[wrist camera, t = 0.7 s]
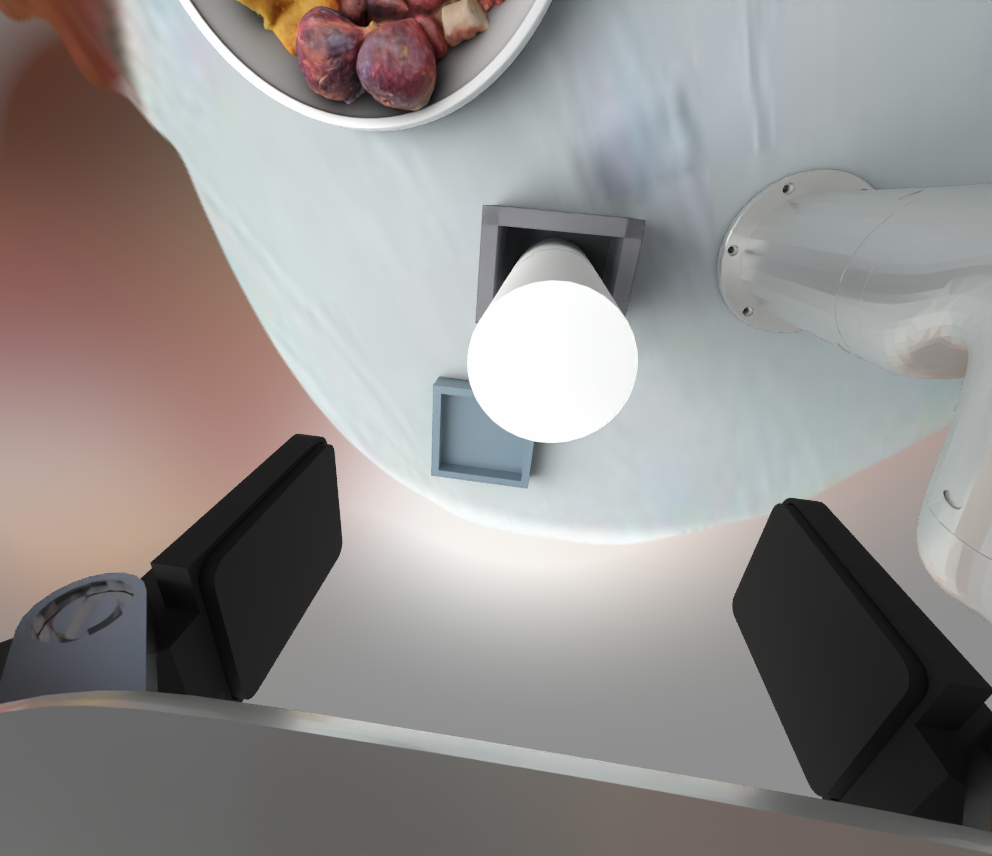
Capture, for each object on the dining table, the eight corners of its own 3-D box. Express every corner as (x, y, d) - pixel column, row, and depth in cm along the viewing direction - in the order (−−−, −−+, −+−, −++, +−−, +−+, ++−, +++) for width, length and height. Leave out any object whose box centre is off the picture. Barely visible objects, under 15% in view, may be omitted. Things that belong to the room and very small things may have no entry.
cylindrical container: (498, 269, 41) (433, 345, 19) (565, 220, 39) (580, 241, 17) (540, 333, 44) (527, 468, 21) (606, 290, 41) (669, 391, 19)
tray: (540, 389, 46) (540, 398, 44) (528, 476, 51) (527, 488, 49) (438, 376, 47) (433, 385, 45) (436, 464, 52) (431, 475, 49)
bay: (628, 217, 38) (645, 220, 31) (609, 316, 42) (620, 339, 35) (495, 205, 39) (482, 205, 32) (488, 303, 43) (475, 323, 36)
